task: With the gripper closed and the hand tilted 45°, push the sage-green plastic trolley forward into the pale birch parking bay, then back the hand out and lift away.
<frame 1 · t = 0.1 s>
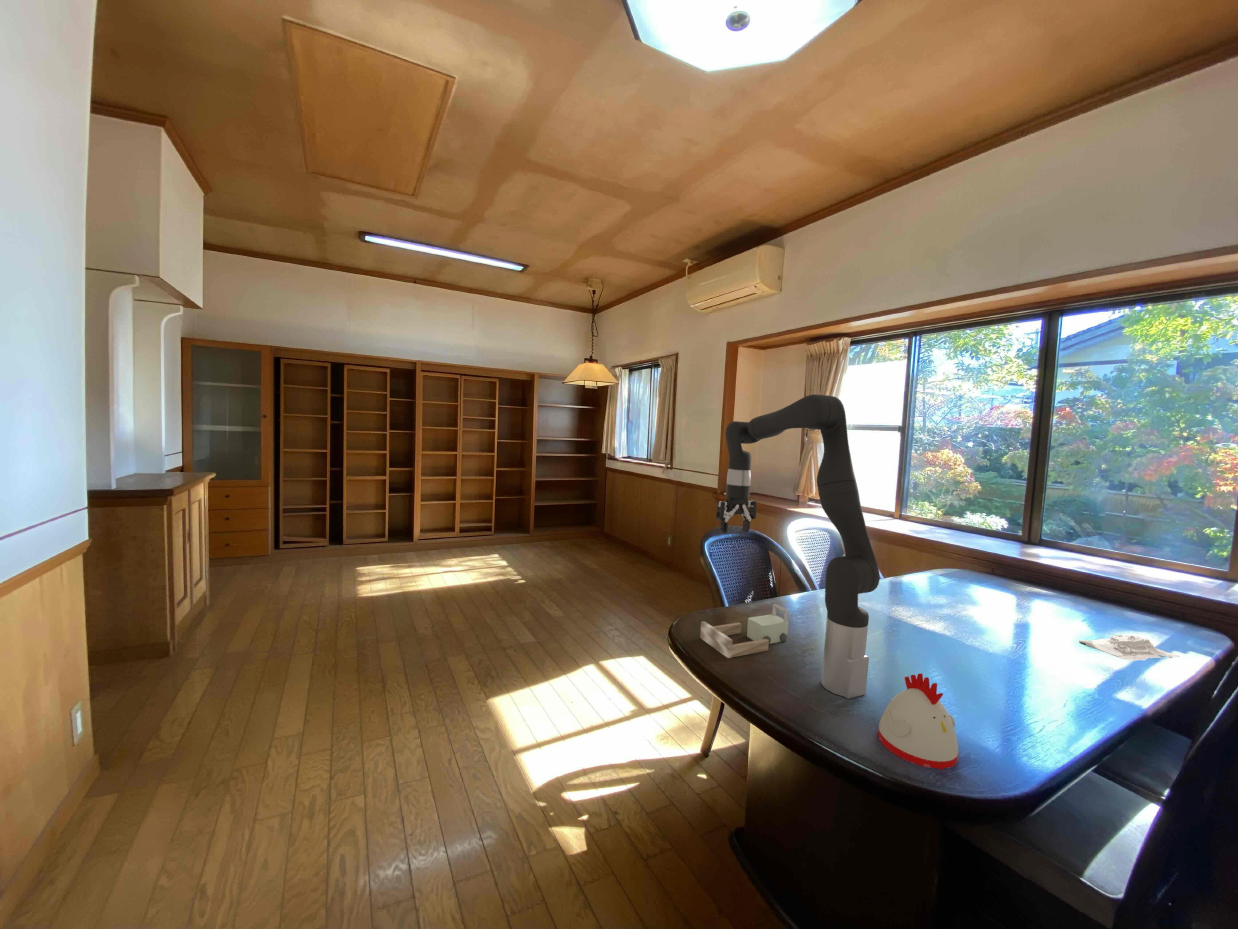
hand: (735, 532, 160), 29 cm above the table, tool pointing down, fingers open, 8 cm apart
kitchen timer: (916, 747, 100), on the table
terrain model: (1127, 652, 154), on the table
birch bay: (735, 643, 143), on the table
sage trolley: (766, 639, 148), on the table
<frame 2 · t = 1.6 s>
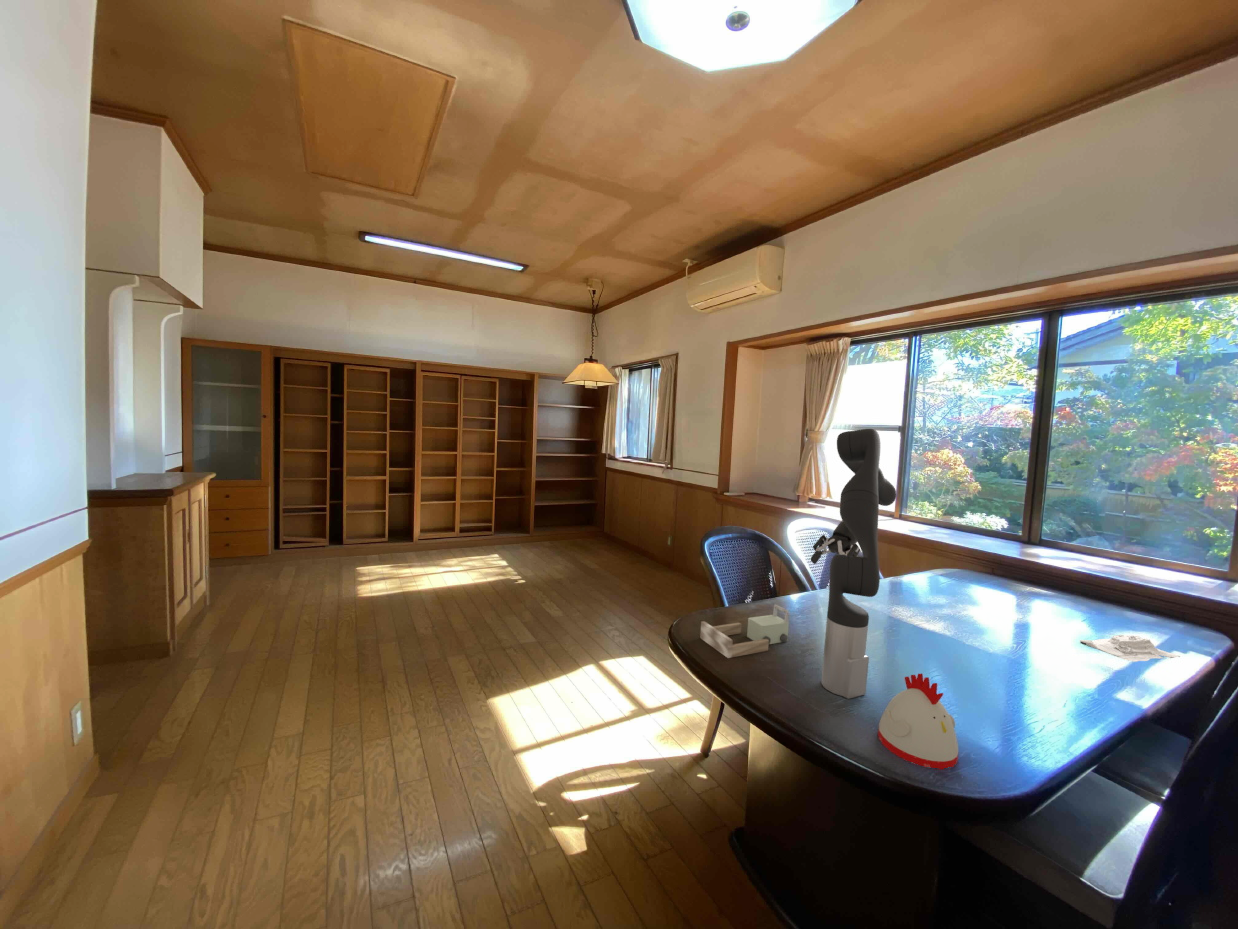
hand: (823, 565, 156), 21 cm above the table, tool tilted 45°, fingers open, 8 cm apart
nothing on the table moved.
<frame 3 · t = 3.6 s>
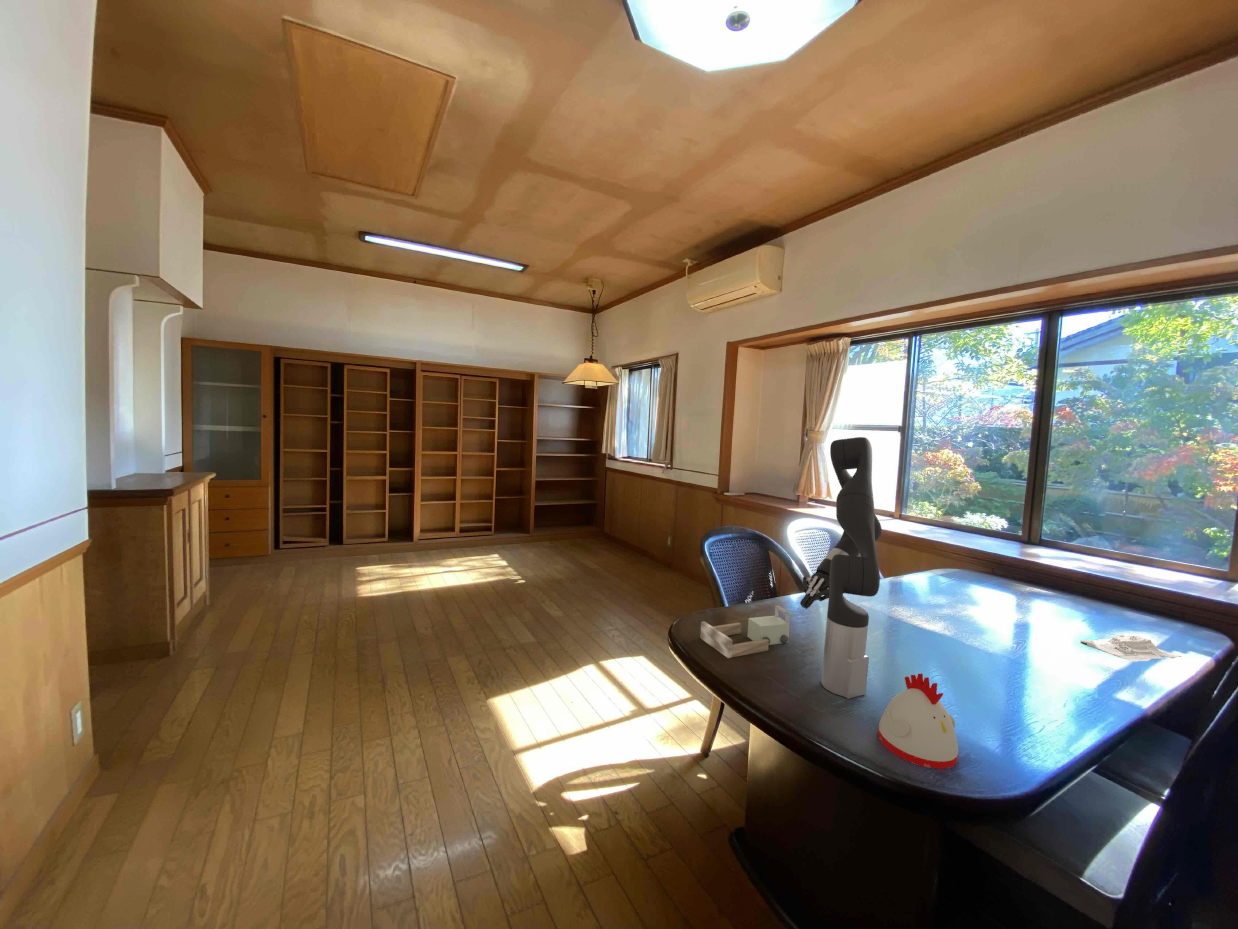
hand: (803, 606, 153), 8 cm above the table, tool tilted 45°, fingers closed
nothing on the table moved.
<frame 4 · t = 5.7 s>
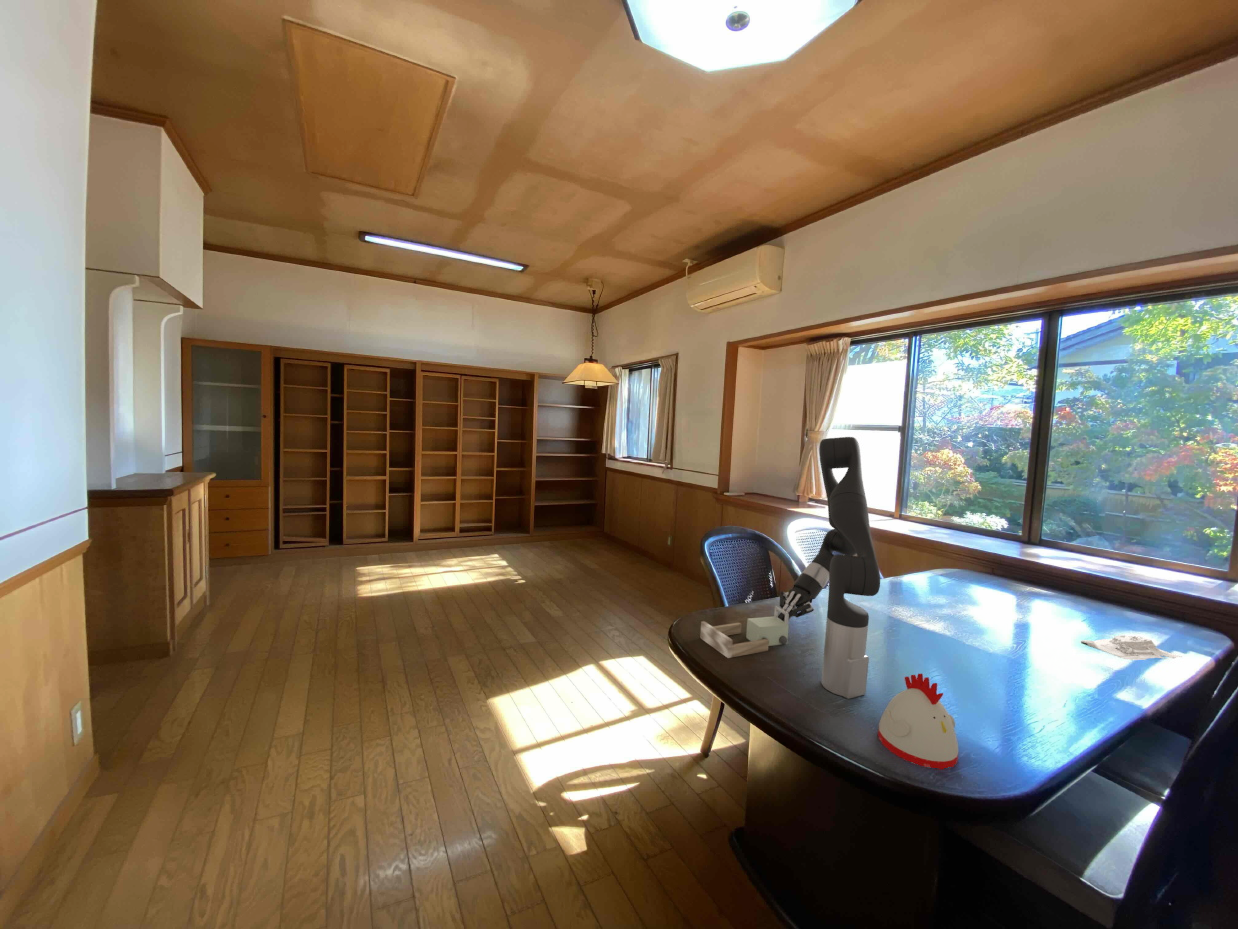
hand: (779, 622, 150), 4 cm above the table, tool tilted 45°, fingers closed
sage trolley: (766, 640, 147), on the table, touching gripper
everything else where it was.
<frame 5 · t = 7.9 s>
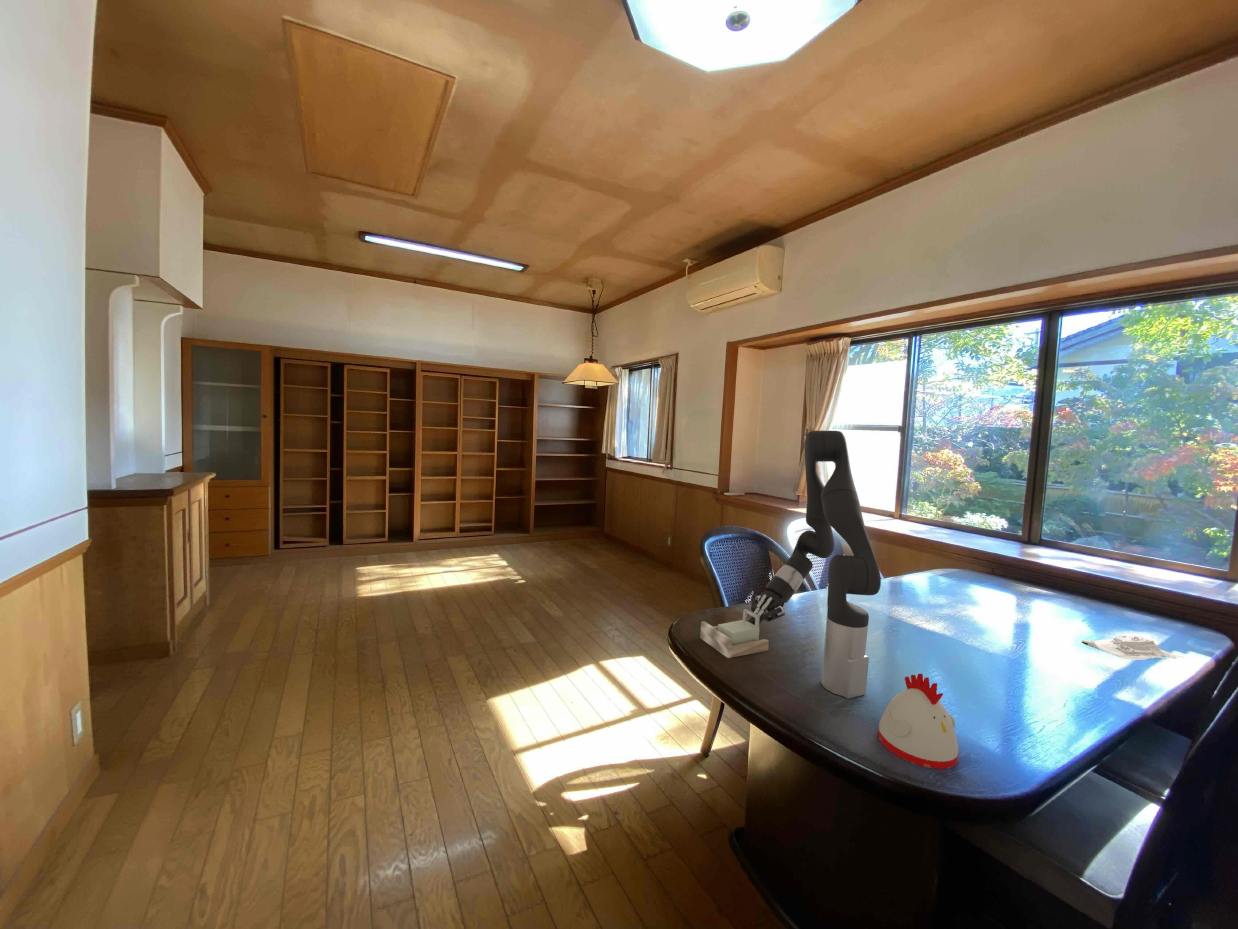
hand: (750, 627, 145), 4 cm above the table, tool tilted 45°, fingers closed
sage trolley: (737, 646, 142), resting in birch bay
everything else where it was.
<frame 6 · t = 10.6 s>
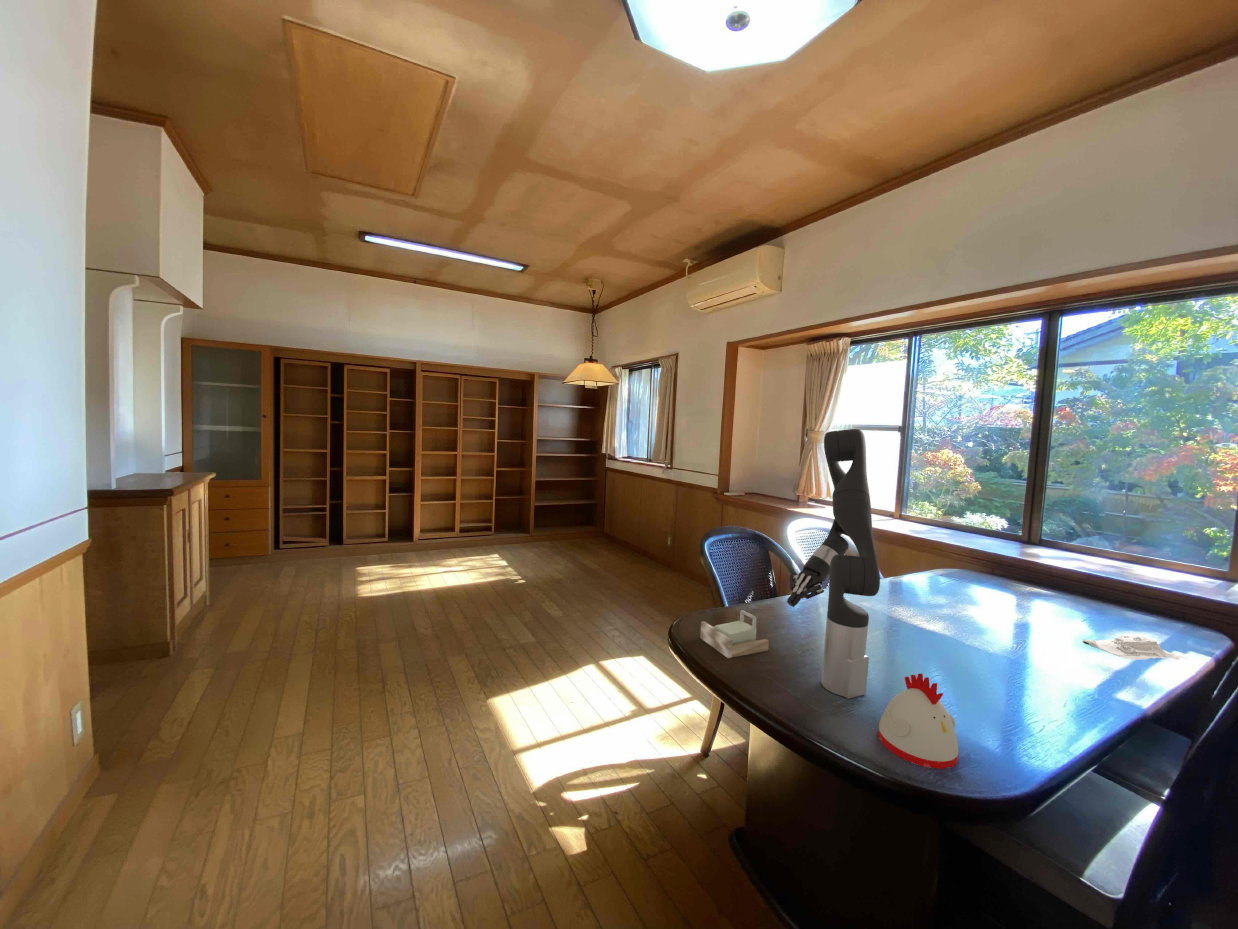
hand: (790, 604, 151), 10 cm above the table, tool tilted 45°, fingers closed
sage trolley: (734, 647, 142), resting in birch bay
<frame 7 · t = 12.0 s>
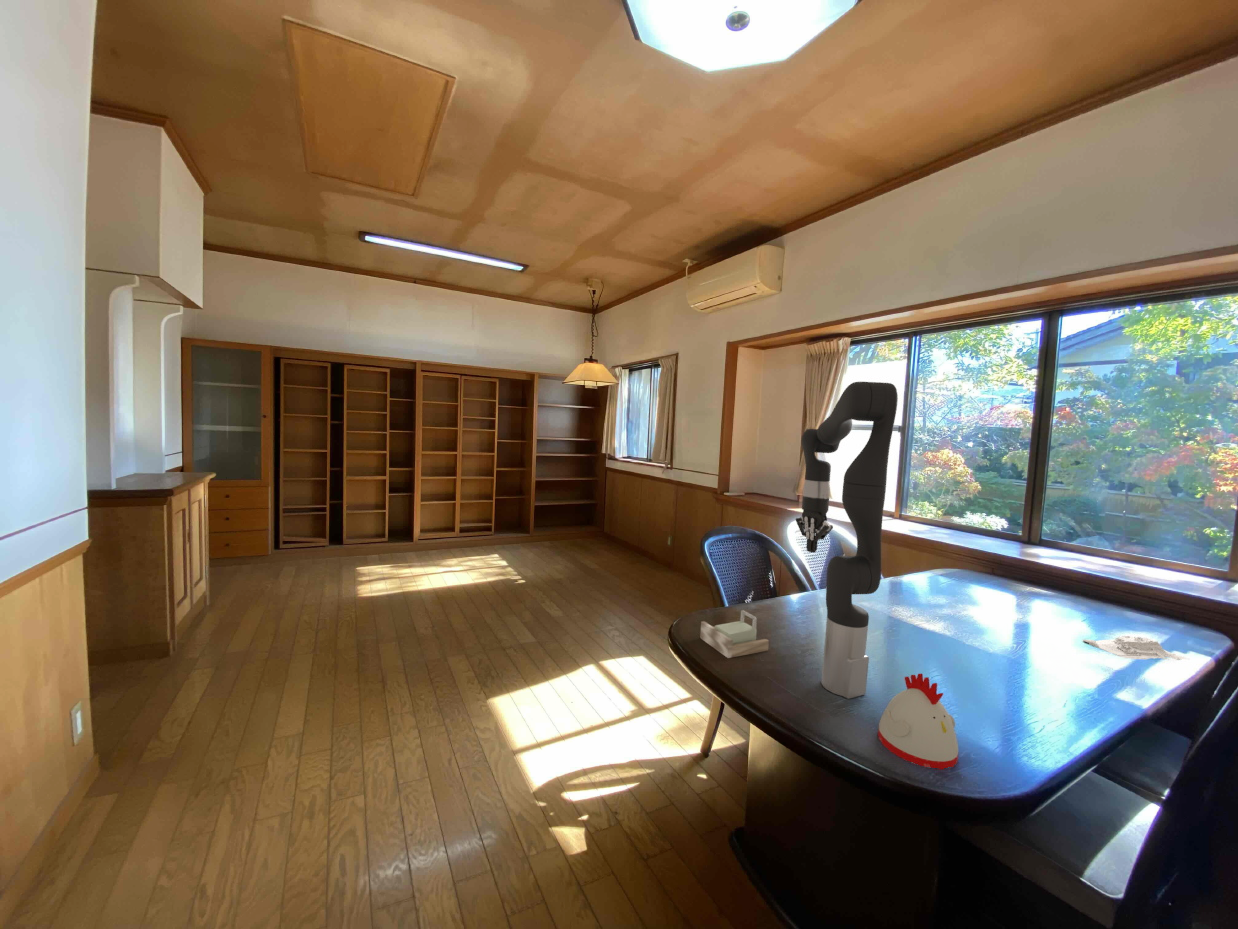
hand: (811, 551, 149), 27 cm above the table, tool pointing down, fingers closed
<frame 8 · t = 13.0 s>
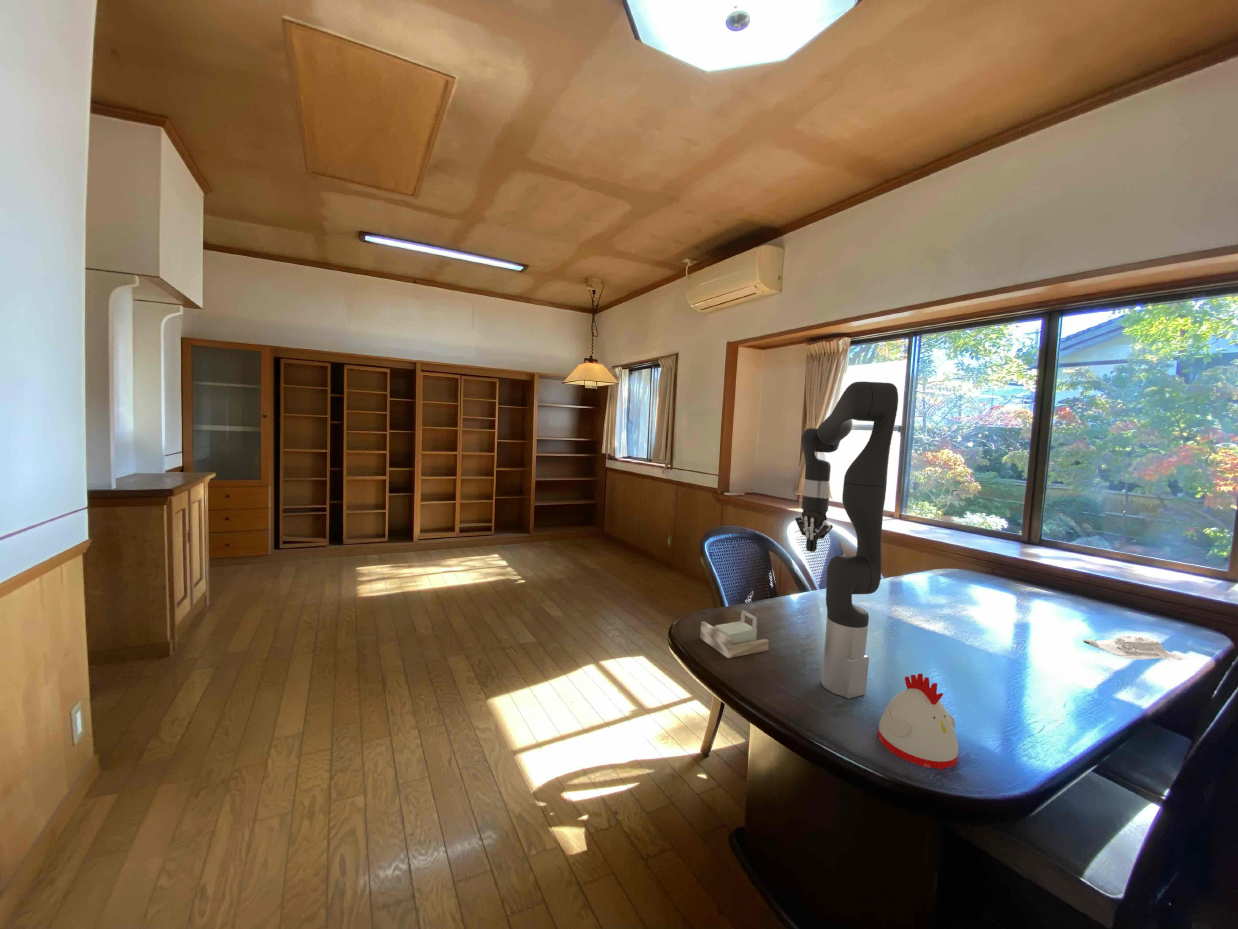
hand: (811, 551, 149), 27 cm above the table, tool pointing down, fingers closed
at the end: sage trolley 1.9 cm off-centre on the birch bay, point 0.0 cm above the birch bay's base; sage trolley tilted 0° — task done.
